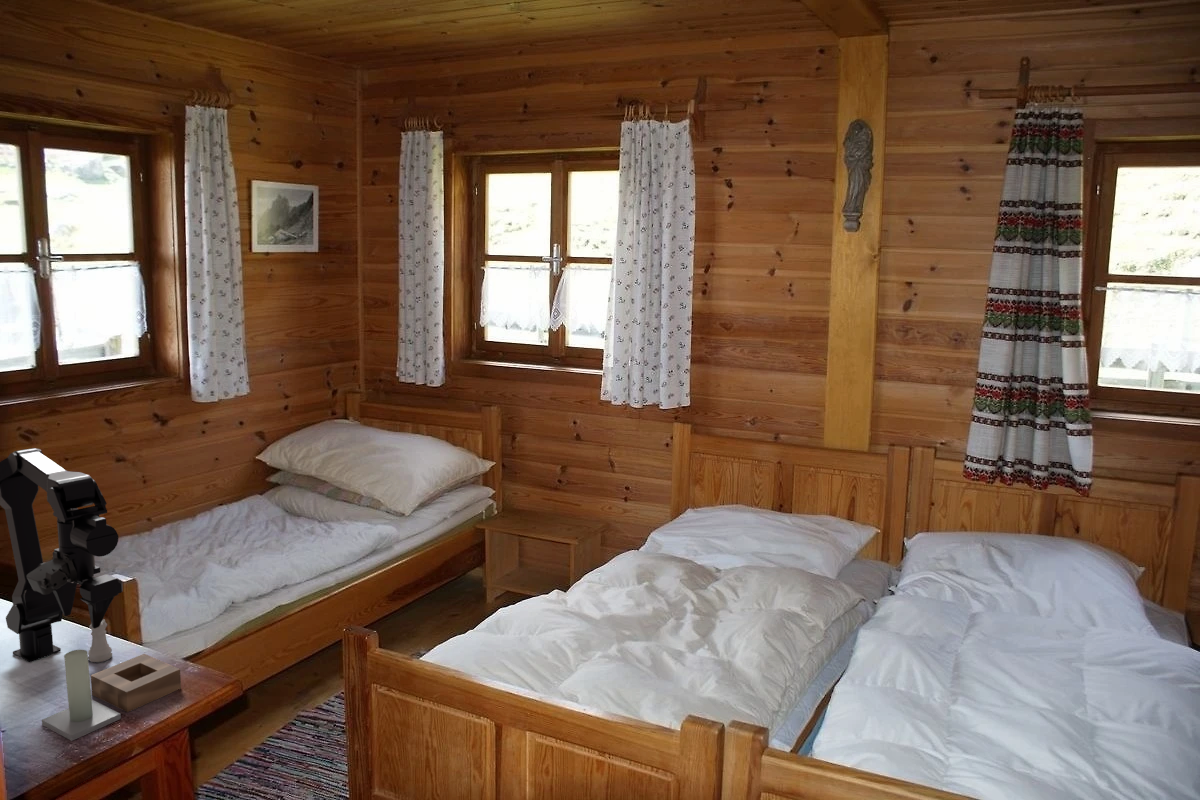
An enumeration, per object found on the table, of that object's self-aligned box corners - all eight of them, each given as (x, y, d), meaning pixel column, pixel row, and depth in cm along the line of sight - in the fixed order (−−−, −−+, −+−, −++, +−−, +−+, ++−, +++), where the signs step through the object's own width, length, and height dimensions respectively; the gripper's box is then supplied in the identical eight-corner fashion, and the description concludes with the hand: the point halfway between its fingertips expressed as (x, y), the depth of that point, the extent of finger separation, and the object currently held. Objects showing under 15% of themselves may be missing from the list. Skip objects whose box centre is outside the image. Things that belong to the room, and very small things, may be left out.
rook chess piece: (102, 664, 192) (100, 627, 191) (82, 661, 193) (80, 624, 192) (117, 654, 197) (115, 618, 195) (98, 652, 198) (96, 615, 196)
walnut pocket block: (91, 694, 181) (90, 675, 180) (145, 672, 190) (144, 653, 189) (127, 712, 175) (126, 692, 175) (180, 688, 185) (180, 669, 184)
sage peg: (67, 715, 172) (62, 653, 169) (90, 708, 174) (84, 647, 171) (72, 724, 169) (66, 661, 166) (94, 717, 171) (89, 655, 169)
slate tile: (42, 724, 170) (41, 719, 170) (91, 703, 178) (90, 698, 177) (71, 740, 165) (71, 735, 165) (120, 718, 173) (120, 713, 173)
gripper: (3, 544, 177) (10, 623, 180) (62, 566, 167) (68, 650, 170) (63, 528, 186) (68, 604, 189) (122, 549, 177) (126, 628, 180)
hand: (81, 621), depth 182 cm, fingers open, 9 cm apart
